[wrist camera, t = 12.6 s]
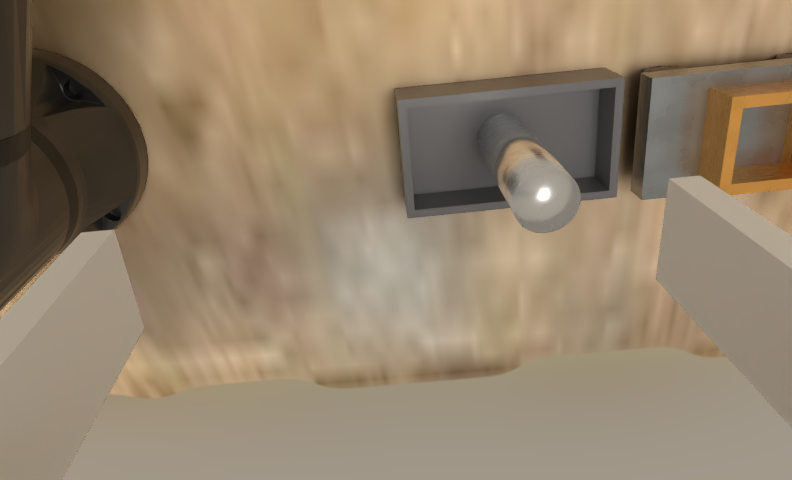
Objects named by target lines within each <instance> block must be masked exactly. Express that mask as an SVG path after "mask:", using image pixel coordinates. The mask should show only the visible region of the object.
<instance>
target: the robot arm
mask: <svg viewBox="0 0 792 480" xmlns="http://www.w3.org/2000/svg"><path fill="white" fill-rule="evenodd" d="M147 171H148V159H147V150H146V145H145V141H144V138H143V135H142V132H141V129H140V127H139V125H138V123H137V120H136V119H135V117H134V115H133V113H132V112H131V110H130V109H129V107H128V105H127V104H126V103H125V102H124V100H123V99H122V98H121V97H120V95H119V94H118V93H117V92H116V91H115V90H114V89H113V88H112V87H111V86H110V85H109V84H108V83H107V82H106V81H105V80H103V79H102V78H101V77H100V76H98V75H97V74H96V73H94V72H93V71H91V70H90V69H88V68H86V67H85V66H83V65H81V64H79V63H78V62H76V61H73V60H71V59H69V58H67V57H64V56H61V55H58V54H55V53H52V52H48V51H44V50H37V49H32V0H0V311H1V310H2V309H3V308H4V307H5V306H6V305H7V304H8V303H9V302H10V301H11V300H12V299H13V298H14V297H15V296H16V295H17V294H18V293H19V292H20V291H21V290H22V289H23V288H24V287H25V286H26V284H27V283H28V282H29V281H30V280H31V279H32V278H33V277H34V276H35V275H36V274H37V273H38V272H39V271H40V270H41V269H42V268H43V267H44V266H45V265H46V264H47V263H48V262H49V261H50V260H51V259H52V258H53V257H54V256H55V255H57V254H60V253H61V254H60V256H59V257H58V258H57V259H56V260H55V261H54V262H53V263H52V264H51V265H50V266H49V267H48V268H47V269H46V270H45V271H44V273H43V274H42V275H41V276H40V277H39V278H38V279H37V280H36V281H35V282H34V283H33V284H32V285H31V286H30V287H29V288H28V290H27V291H26V292H25V293H24V294H23V295H22V296H21V297H20V298H19V299H18V300H17V301H16V302H15V303H14V304H13V306H12V307H11V308H10V309H9V310H8V311H7V312H6V313H5V314H4V315H3V316H2V317H1V318H0V480H62V479H63V477H64V476H65V473H66V472H67V470H68V468H69V466H70V464H71V463H72V461H73V459H74V457H75V455H76V453H77V452H78V450H79V448H80V446H81V444H82V442H83V440H84V439H85V437H86V435H87V433H88V431H89V429H90V428H91V426H92V424H93V422H94V420H95V418H96V416H97V414H98V413H99V411H100V409H101V407H102V405H103V403H104V402H105V400H106V398H107V396H108V394H109V392H110V391H111V389H112V387H113V385H114V383H115V381H116V379H117V378H118V376H119V374H120V372H121V370H122V368H123V366H124V365H125V363H126V361H127V359H128V357H129V355H130V354H131V352H132V350H133V348H134V346H135V344H136V342H137V341H138V339H139V337H140V335H141V333H142V331H143V329H144V326H143V323H142V320H141V316H140V313H139V310H138V306H137V303H136V300H135V296H134V293H133V290H132V286H131V283H130V280H129V277H128V273H127V270H126V267H125V263H124V260H123V257H122V253H121V250H120V247H119V243H118V240H117V237H116V234H115V229H116V228H117V227H118V226H119V225H120V224H121V223H122V222H123V221H124V220H125V219H126V218H127V216H128V215H129V214H130V213H131V212H132V211H133V209H134V208H135V206H136V205H137V203H138V202H139V200H140V198H141V196H142V193H143V190H144V188H145V184H146V179H147ZM656 280H657V281H658V282H659V283H660V284H661V285H662V286H663V287H664V288H665V290H666V291H667V292H668V293H669V294H670V295H671V296H672V297H673V298H674V299H675V300H676V302H677V303H678V304H679V305H680V306H681V307H682V308H683V309H684V310H685V311H686V313H687V314H688V315H689V316H690V317H691V318H692V319H693V320H694V321H695V322H696V324H697V325H698V326H699V327H700V328H701V329H702V330H703V331H704V332H705V333H706V334H707V336H708V337H709V338H710V339H711V340H712V341H713V342H714V343H715V344H716V345H717V347H718V348H719V349H720V350H721V351H722V352H723V353H724V354H725V355H726V356H727V357H728V359H729V360H730V361H731V362H732V363H733V364H734V365H735V366H736V367H737V368H738V369H739V371H740V372H741V373H742V374H743V375H744V376H745V377H746V378H747V379H748V381H750V382H751V384H752V385H753V386H754V387H755V388H756V389H757V390H758V391H759V392H760V393H761V395H762V396H763V397H764V398H765V399H766V400H767V401H768V402H769V403H770V405H771V406H772V407H773V408H774V409H775V410H776V411H777V412H778V413H779V414H780V416H781V417H782V418H783V419H784V420H785V421H786V422H787V423H788V424H789V425H790V426H791V428H792V236H791V235H790V234H788V233H787V232H785V231H784V230H782V229H781V228H779V227H778V226H776V225H775V224H773V223H772V222H770V221H769V220H767V219H765V218H764V217H762V216H761V215H759V214H758V213H756V212H755V211H753V210H752V209H750V208H749V207H747V206H746V205H744V204H743V203H741V202H740V201H738V200H737V199H735V198H734V197H732V196H731V195H729V194H728V193H726V192H725V191H723V190H722V189H720V188H719V187H717V186H715V185H714V184H712V183H711V182H709V181H708V180H706V179H705V178H703V177H702V176H690V177H679V178H669V182H668V189H667V197H666V205H665V212H664V220H663V228H662V235H661V243H660V250H659V258H658V266H657V273H656Z"/></svg>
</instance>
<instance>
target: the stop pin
mask: <svg viewBox="0 0 792 480" xmlns="http://www.w3.org/2000/svg"><path fill="white" fill-rule="evenodd" d="M477 147H478V150H479V152H480V154H481V155H482V157H483V159H484V161H485V163H486V165H487V166H488V168H489V170H490V172H491V174H492V175H493V177H494V179H495V181H496V183H497V185H498V186H499V188H500V190H501V192H502V194H503V195H504V197H505V199H506V201H507V203H508V205H509V206H510V208H511V210H512V212H513V214H514V215H515V217H516V219H517V221H518V222H519V223H520V224H521V225H522V226H523V227H524V228H526V229H528V230H530V231H533V232H537V233H548V232H553V231H556V230H558V229H560V228H562V227H564V226H565V225H567V224H568V223H569V222H570V221H571V220H572V219H573V217H574V216H575V215H576V213H577V211H578V209H579V206H580V200H581V194H580V189H579V186H578V184H577V183H576V181H575V180H574V179H573V178H572V176H571V175H570V174H569V173H568V172H567V171H566V170H565V169H564V168H563V166H562V165H561V164H560V163H559V162H558V161H557V160H556V159H555V157H554V156H553V155H552V154H551V153H550V152H549V151H548V150H547V148H546V147H545V146H544V145H543V144H542V143H541V142H540V141H539V139H538V138H537V137H536V136H535V135H534V134H533V133H532V132H531V130H530V129H529V128H528V127H527V126H526V125H525V124H524V123H523V121H522V120H521V119H519V118H518V117H516V116H514V115H511V114H498V115H495V116H492V117H491V118H489V119H488V120H486V121H485V122H484V123H483V125H482V126H481V128H480V129H479V132H478V135H477Z"/></svg>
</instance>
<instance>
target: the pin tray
mask: <svg viewBox="0 0 792 480" xmlns="http://www.w3.org/2000/svg"><path fill="white" fill-rule="evenodd" d="M624 86H625V77H623V76H621V75H619V74H617V73H615V72H613V71H611V70H609V69H607V68H595V69H585V70H576V71H566V72H556V73H546V74H536V75H526V76H516V77H506V78H496V79H486V80H476V81H466V82H456V83H446V84H436V85H426V86H416V87H406V88H396V89H395V99H396V110H397V121H398V132H399V144H400V155H401V166H402V177H403V188H404V199H405V205H406V211H407V218H415V217H425V216H435V215H445V214H455V213H465V212H474V211H484V210H494V209H504V208H510V206H509V205H508V203H507V201H506V199H505V197H504V195H503V194H502V192H501V190H500V188H499V186H498V185H497V183H496V181H495V179H494V177H493V175H492V174H491V172H490V170H489V168H488V166H487V165H486V163H485V161H484V159H483V157H482V155H481V154H480V152H479V150H478V147H477V135H478V132H479V129H480V128H481V126H482V125H483V123H484V122H485V121H486V120H488V119H489V118H491V117H492V116H495V115H498V114H511V115H514V116H516V117H518V118H519V119H521V120H522V121H523V123H524V124H525V125H526V126H527V127H528V128H529V129H530V130H531V132H532V133H533V134H534V135H535V136H536V137H537V138H538V139H539V141H540V142H541V143H542V144H543V145H544V146H545V147H546V148H547V150H548V151H549V152H550V153H551V154H552V155H553V156H554V157H555V159H556V160H557V161H558V162H559V163H560V164H561V165H562V166H563V168H564V169H565V170H566V171H567V172H568V173H569V174H570V175H571V176H572V178H573V179H574V180H575V181H576V183H577V184H578V186H579V189H580V194H581V200H580V201H583V200H593V199H603V198H613V197H617V183H618V169H619V155H620V141H621V127H622V113H623V100H624Z"/></svg>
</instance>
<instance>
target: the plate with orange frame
mask: <svg viewBox="0 0 792 480" xmlns="http://www.w3.org/2000/svg"><path fill="white" fill-rule="evenodd" d="M690 176H702V177H703V178H705V179H706V180H708V181H709V182H711V183H712V184H714V185H715V186H717V187H719V188H720V189H722V190H723V191H725V192H726V193H728V194H729V195H735V194H744V193H754V192H764V191H774V190H784V189H792V53H785V54H780V55H777V56H776V59H774V60H764V61H754V62H744V63H734V64H724V65H714V66H704V67H694V68H685V67H679V66H656V67H649V68H646V69H644V73H641V74H640V86H639V98H638V110H637V122H636V134H635V146H634V158H633V171H632V183H631V191H632V192H633V193H634V194H635V195H636V196H638V197H639V198H640V199H641V200H647V199H656V198H666V197H667V189H668V182H669V178H679V177H690Z"/></svg>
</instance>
